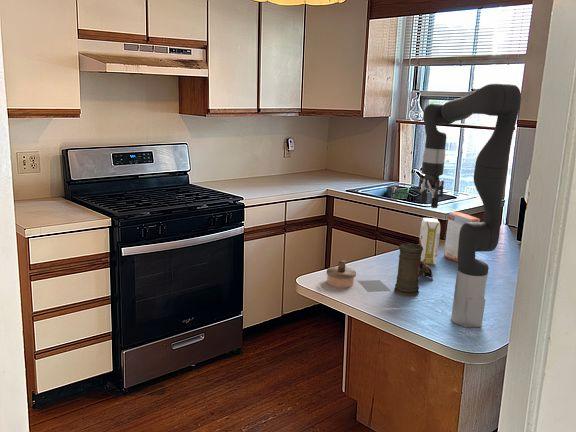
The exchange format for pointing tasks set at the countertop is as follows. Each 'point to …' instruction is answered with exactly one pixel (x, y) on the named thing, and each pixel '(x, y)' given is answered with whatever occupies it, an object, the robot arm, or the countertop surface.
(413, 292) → the container
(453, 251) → the cracker box
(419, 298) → the countertop surface
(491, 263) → the countertop surface
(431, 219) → the juice carton
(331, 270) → the lid
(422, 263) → the pottery mug
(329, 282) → the bowl
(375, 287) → the mat
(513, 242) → the countertop surface
